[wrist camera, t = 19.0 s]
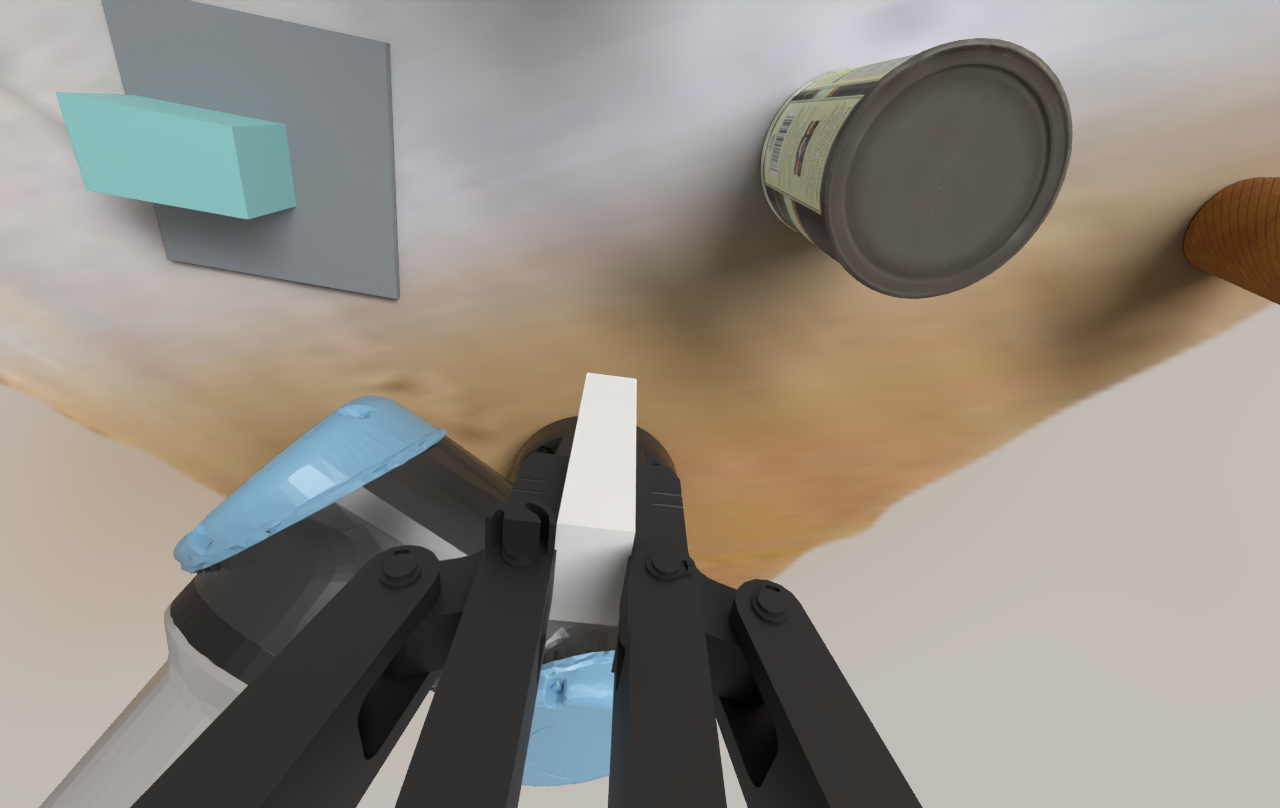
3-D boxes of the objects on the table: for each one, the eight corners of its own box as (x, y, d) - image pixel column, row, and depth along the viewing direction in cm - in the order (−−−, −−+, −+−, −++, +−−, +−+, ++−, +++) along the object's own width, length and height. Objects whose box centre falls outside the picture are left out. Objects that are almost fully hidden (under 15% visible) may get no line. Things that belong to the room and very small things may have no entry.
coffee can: (915, 218, 37) (1055, 272, 24) (768, 252, 38) (830, 320, 25) (919, 45, 32) (1098, 3, 19) (750, 90, 33) (817, 77, 20)
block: (248, 219, 31) (82, 189, 30) (296, 206, 36) (152, 180, 35) (231, 126, 29) (51, 91, 28) (285, 124, 33) (130, 94, 32)
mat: (399, 296, 39) (396, 299, 39) (174, 257, 38) (167, 259, 37) (389, 43, 32) (385, 42, 31) (106, -18, 30) (96, -20, 30)
